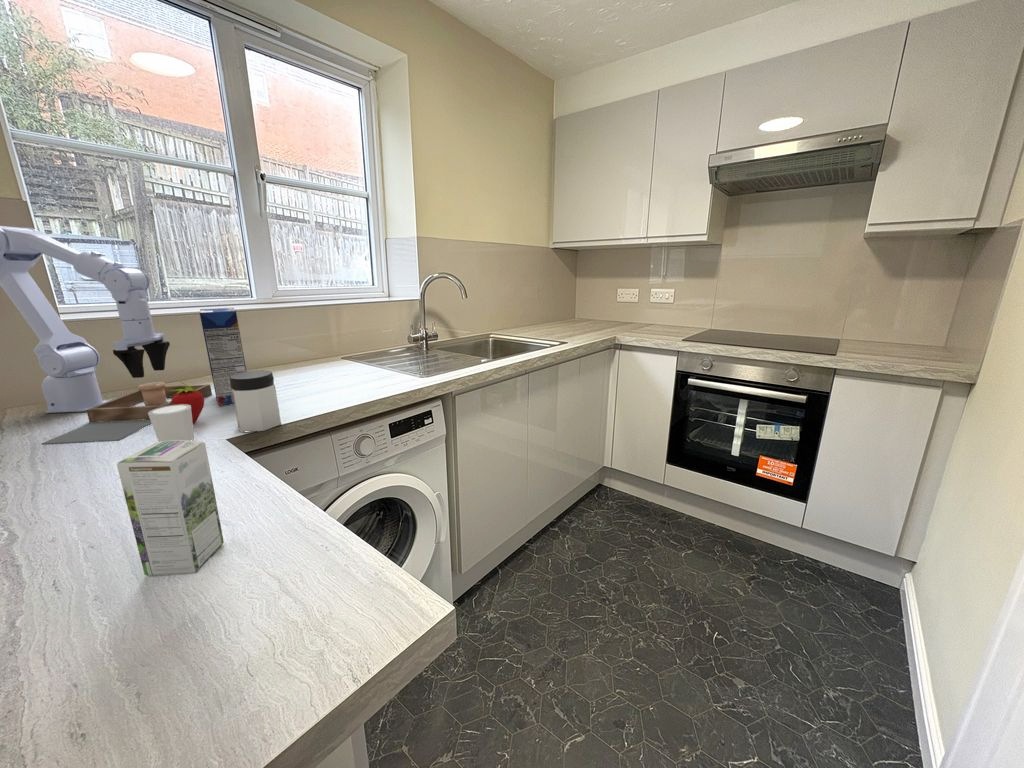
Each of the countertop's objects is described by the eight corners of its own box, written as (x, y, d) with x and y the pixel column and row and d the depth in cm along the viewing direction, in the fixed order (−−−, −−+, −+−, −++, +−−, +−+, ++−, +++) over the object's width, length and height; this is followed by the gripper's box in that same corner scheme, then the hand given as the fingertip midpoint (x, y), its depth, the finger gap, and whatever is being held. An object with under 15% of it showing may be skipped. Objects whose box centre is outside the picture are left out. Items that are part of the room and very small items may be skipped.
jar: (284, 427, 93) (276, 375, 90) (241, 436, 88) (231, 381, 85) (276, 416, 100) (268, 368, 97) (236, 424, 95) (226, 373, 92)
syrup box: (178, 545, 53) (152, 440, 49) (227, 543, 53) (205, 438, 50) (144, 577, 48) (111, 461, 44) (198, 574, 48) (171, 459, 44)
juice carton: (217, 395, 116) (200, 309, 110) (248, 391, 120) (233, 307, 114) (218, 406, 107) (199, 312, 100) (251, 401, 111) (236, 311, 105)
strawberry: (173, 430, 91) (163, 386, 88) (180, 420, 97) (170, 378, 95) (206, 426, 94) (197, 383, 91) (210, 416, 100) (202, 375, 97)
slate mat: (41, 444, 84) (41, 443, 84) (90, 423, 95) (90, 422, 95) (119, 440, 86) (119, 439, 86) (158, 420, 97) (158, 419, 97)
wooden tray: (89, 422, 96) (86, 409, 95) (149, 396, 115) (146, 386, 114) (165, 418, 98) (163, 406, 97) (212, 394, 117) (210, 384, 116)
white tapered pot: (205, 437, 87) (199, 405, 86) (170, 450, 81) (162, 416, 79) (183, 433, 90) (176, 402, 88) (147, 445, 83) (139, 412, 81)
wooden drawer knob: (138, 410, 104) (132, 387, 102) (152, 404, 109) (147, 382, 107) (161, 409, 104) (156, 386, 103) (174, 403, 109) (169, 381, 108)
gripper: (132, 322, 94) (146, 380, 98) (173, 315, 108) (184, 366, 112) (97, 323, 93) (113, 381, 97) (143, 316, 107) (155, 367, 111)
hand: (149, 373), depth 104 cm, fingers open, 7 cm apart
